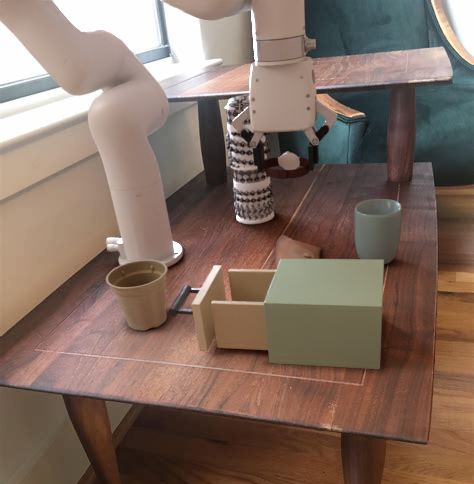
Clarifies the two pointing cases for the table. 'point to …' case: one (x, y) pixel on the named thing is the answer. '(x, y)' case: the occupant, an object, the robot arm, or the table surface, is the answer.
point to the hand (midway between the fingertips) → (286, 168)
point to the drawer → (229, 309)
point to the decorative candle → (247, 170)
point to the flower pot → (141, 292)
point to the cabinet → (325, 313)
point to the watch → (287, 166)
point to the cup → (377, 229)
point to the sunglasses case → (294, 250)
